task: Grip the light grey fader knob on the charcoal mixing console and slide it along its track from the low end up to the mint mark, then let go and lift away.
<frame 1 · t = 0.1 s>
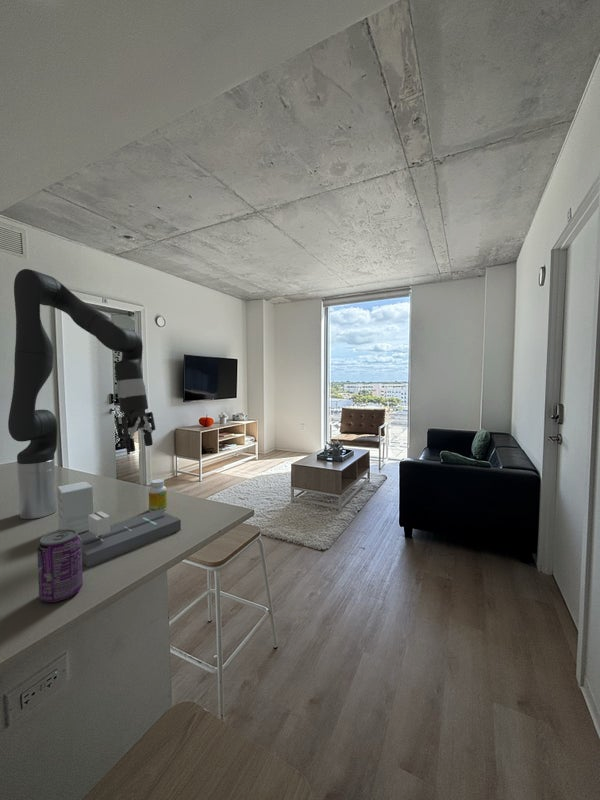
hand: (140, 448, 99), 22 cm above the table, tool pointing down, fingers open, 8 cm apart
beverage can: (61, 594, 66), on the table
supplement bottle: (158, 510, 109), on the table
supplement box: (76, 530, 95), on the table
fader knob: (99, 526, 83), point 6 cm above the table, slide at -7.0 cm
console: (128, 539, 89), on the table
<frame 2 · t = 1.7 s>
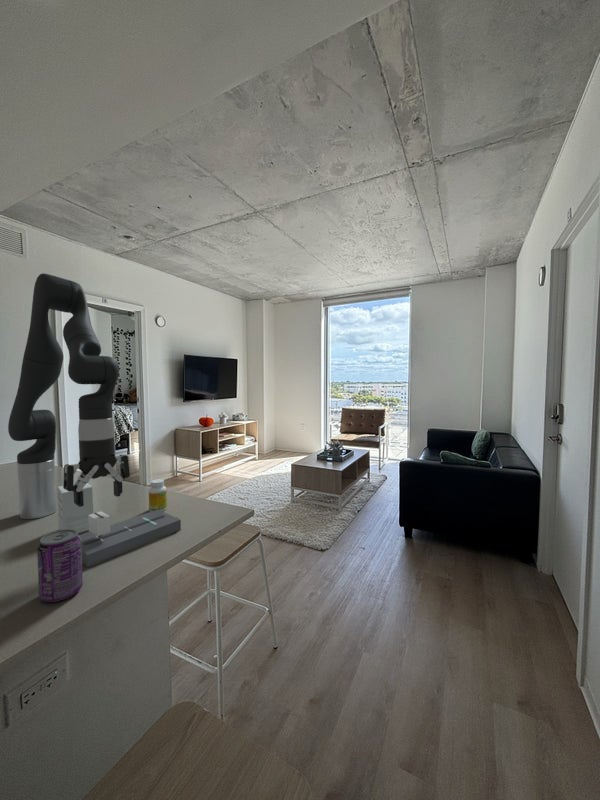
hand: (99, 500, 82), 13 cm above the table, tool pointing down, fingers open, 8 cm apart
nothing on the table moved.
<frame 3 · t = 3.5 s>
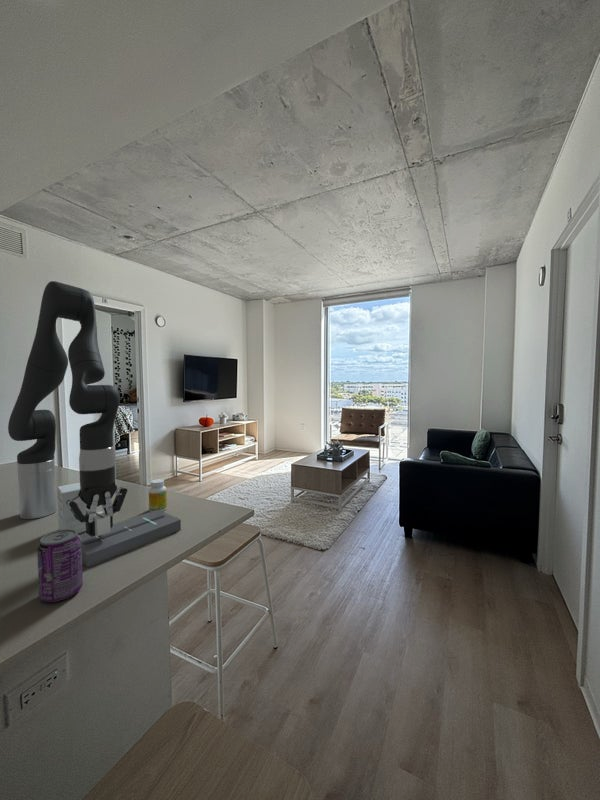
hand: (99, 532, 83), 5 cm above the table, tool pointing down, fingers closed on fader knob, 3 cm apart
fader knob: (99, 525, 83), point 6 cm above the table, slide at -7.0 cm, touching gripper
everything else where it was.
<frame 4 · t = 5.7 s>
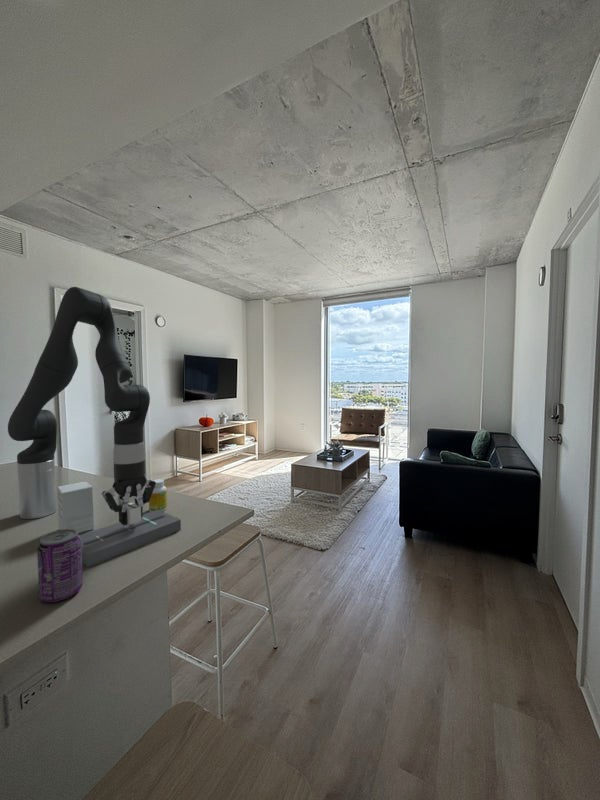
hand: (131, 521, 89), 5 cm above the table, tool pointing down, fingers closed on fader knob, 3 cm apart
fader knob: (130, 515, 89), point 6 cm above the table, slide at 0.9 cm, touching gripper
everything else where it was.
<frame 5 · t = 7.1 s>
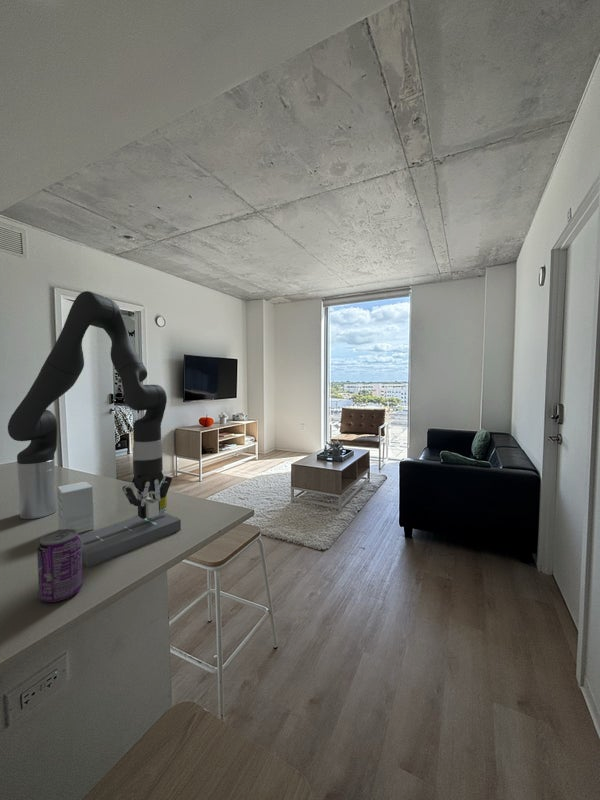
hand: (149, 515, 93), 5 cm above the table, tool pointing down, fingers closed on fader knob, 3 cm apart
fader knob: (149, 509, 93), point 6 cm above the table, slide at 6.0 cm, touching gripper
everything else where it was.
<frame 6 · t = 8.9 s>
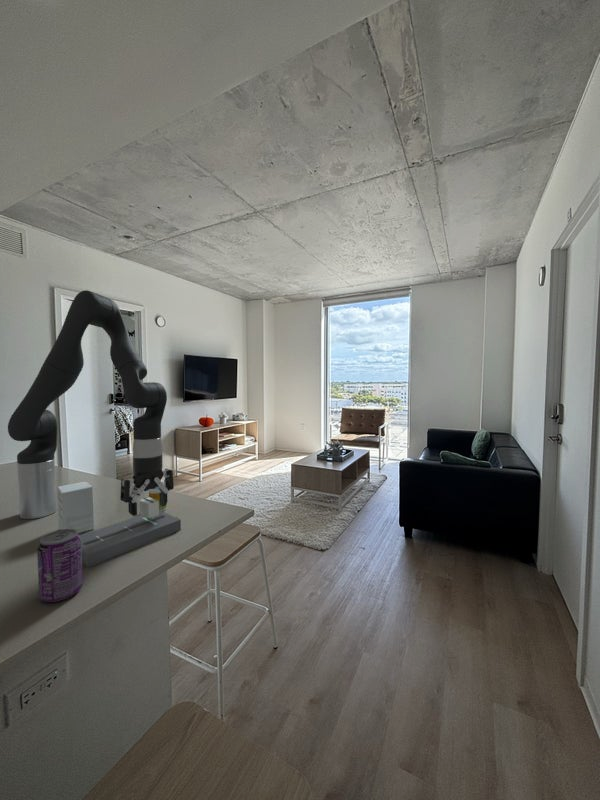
hand: (148, 510, 93), 6 cm above the table, tool pointing down, fingers open, 8 cm apart
fader knob: (149, 509, 93), point 6 cm above the table, slide at 6.0 cm
everything else where it was.
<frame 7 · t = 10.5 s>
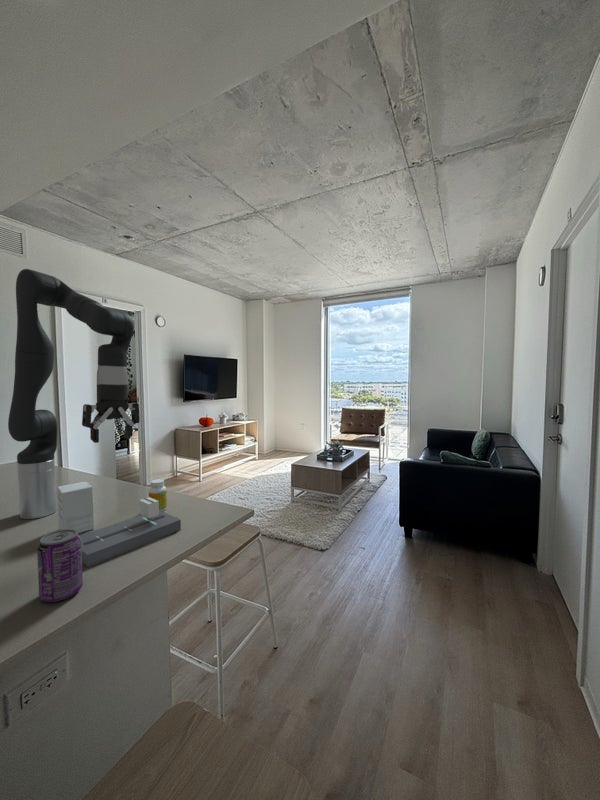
hand: (112, 440, 92), 26 cm above the table, tool pointing down, fingers open, 8 cm apart
nothing on the table moved.
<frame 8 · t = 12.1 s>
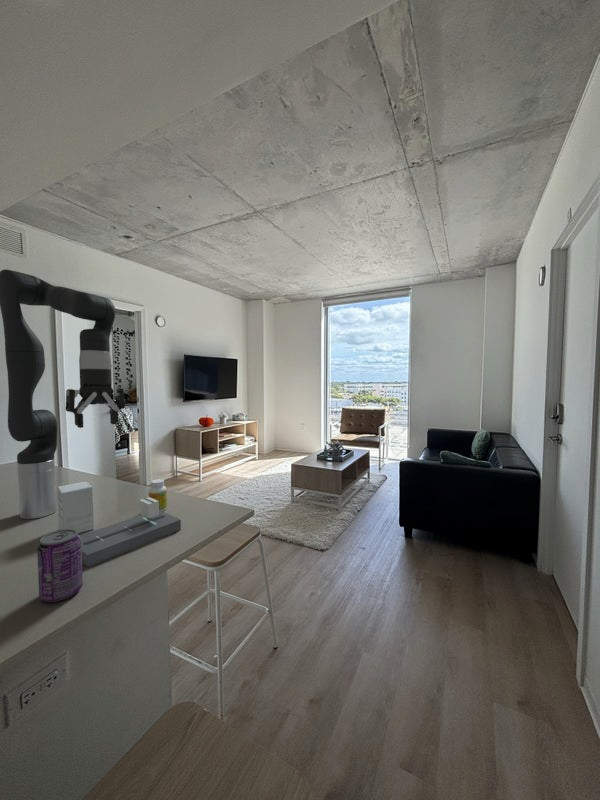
hand: (97, 425, 92), 30 cm above the table, tool pointing down, fingers open, 8 cm apart
nothing on the table moved.
at the end: fader knob slide at 6.0 cm; the gripper is holding nothing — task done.
